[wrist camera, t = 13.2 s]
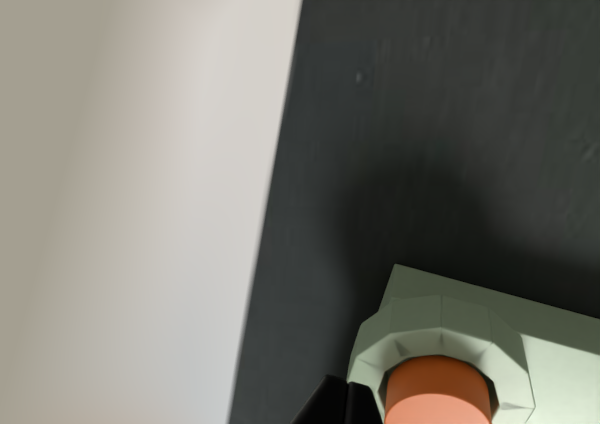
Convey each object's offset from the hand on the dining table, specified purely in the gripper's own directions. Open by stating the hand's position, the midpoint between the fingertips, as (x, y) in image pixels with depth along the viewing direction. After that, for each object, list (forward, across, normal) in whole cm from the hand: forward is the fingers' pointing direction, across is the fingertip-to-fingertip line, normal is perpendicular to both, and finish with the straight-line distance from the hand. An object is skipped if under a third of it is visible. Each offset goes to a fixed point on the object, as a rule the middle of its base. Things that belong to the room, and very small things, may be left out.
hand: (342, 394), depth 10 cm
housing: (+11, -7, +10) cm, 17 cm away
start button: (+8, -4, +7) cm, 12 cm away
